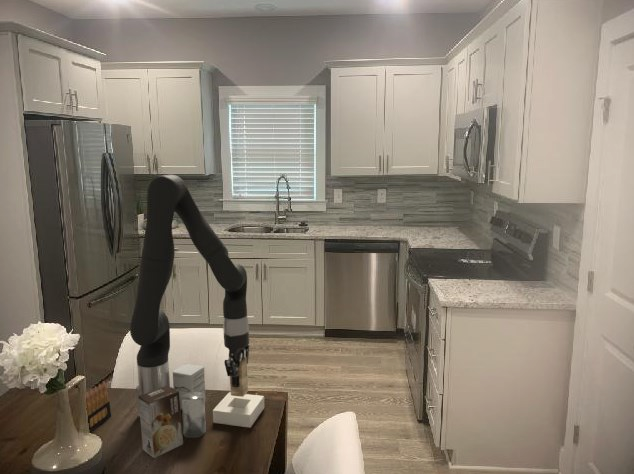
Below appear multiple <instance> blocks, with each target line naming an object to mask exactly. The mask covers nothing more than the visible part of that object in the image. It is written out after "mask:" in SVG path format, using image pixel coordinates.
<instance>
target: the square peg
mask: <svg viewBox="0 0 634 474" xmlns="http://www.w3.org/2000/svg"><path fill="white" fill-rule="evenodd" d="M234 365H238V364H234ZM235 369H236V368H235ZM248 379H249V378H248V364H247V357H245V358H242V359H241V362H240V368H239V384H240V386H239V387H233V386H232V376H229V381H230V382H229V383H230V384H229V385H230V392H231V396H240V397H243V396H244V395H245V394H248V393H247V392H249V381H248Z"/></svg>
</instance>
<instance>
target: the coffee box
mask: <svg viewBox="0 0 634 474" xmlns="http://www.w3.org/2000/svg"><path fill="white" fill-rule="evenodd" d="M138 399H139V410H140V416H139V419H140V431H141V442H142V443H141V444H142V450H143V451H144V452H145V453H147V455H149V456H150V457H152V458H154V459H155V458H158V457H160V456H162V455H164V454H166V453H168V452H170V451H171V450H175V449H176V448H178V447H181V446H182V445H183V444H184V440H183V439H184V438H183V436H184V435H183V422H182V414H181V413H182V412H181V409H180V398H179V391H177V390H175V389H174V388H173V387H172V386H170V387H169V386H167V385H166V386H164V387H161V388H159V389H156V390H153V391H151V392H148V393H146V394H143V395H140V396H138Z"/></svg>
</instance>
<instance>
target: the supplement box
mask: <svg viewBox="0 0 634 474" xmlns="http://www.w3.org/2000/svg"><path fill="white" fill-rule="evenodd" d="M205 380H206V379H205V366H202V365H196V364H191V363H184V364H182V365H181V366H179V367H178V368H176V369H175V370H174V371H172V383H173V384H172V386H173V387H172V388H174V389H175V390H177V391H179V398H180V410H182V400H181V398H182V396H183V395H185V394H187V393H191V392H200V393H203V394H204V402H205V403H206V381H205Z"/></svg>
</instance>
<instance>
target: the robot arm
mask: <svg viewBox="0 0 634 474" xmlns="http://www.w3.org/2000/svg"><path fill="white" fill-rule="evenodd" d="M146 191H147V193H146V194H147V195H146V196H147V198H146V223H145V230H144V236H143V237H144V238H143V242H142V244H143V245H142V250H141V258H140V266H139V274H138V275H139V277H138V281H137V282H138V283H137V284H138V285H137V290H136V291H137V292H136V300H135V304H134V308H133V313H132V315H131V321H130V325H129V326H130V327H129V333H130V336H131V338H132V341H133V342H134V343H135V344H137V345H138V346H140V348H139V350H138V352H137V354H136V366H137V368H136V369H137V380H138V381H137V382H138V385H137V386H136V388H135V390H136V391H135V393H136V405H137V416H138V417H140V410H139V399H138V396H140V395H143V394H146V393H148V392H151V391H153V390H156V389H159V388H161V387H164V386H166V385H167V386H169V387H171V380H170V379H171V378H170V365H169V364H170V363H169V362H170V361H169V353H170V349H171V331H170V322H169V318H168V316H167V314H166V313H165V312H164V311H163V310H162V309H160V308H161V307H160V306H161V303H162V298H163V297H164V295H165V292H166V289H167V288H168V285H169V282H170V280H171V277H172V274H173V268H174V261H175V253H176V252H175V251H176V249H175V241H174V236H173V220H174V215H175V213H176V215H177V216H178V217H179V218H180V220H181V221H182V223H183V225H184V226H185V228H186V231H187V233H188V236H189V237H190V240H191V241H192V243H193V245H194V247H195V249H196V250H197V251H198V252H199V254H200V256H201V257H202V258H203V259H204V260H205V262H206V263H207V264H208V266H209V268H210V271H211V272H212V274H213V276H214V278H215V279H216V281H217V283H218V284H219V285H220V286H221V288H223V289H224V297H223V301H222V314H223V320H222V330H223V344H224V347H225V348H227V349H228V359H224V367H225V371H226V374H227V375H226V376H227V377H230V376H232V386H233V387H239V386H240V384H239V368H240V362H241V359H242V358H245V357H247V365H248V364H249V353H250V345H249V344H250V333H249V331H250V330H249V329H250V327H249V318H248V309H247V308H248V307H247V306H248V305H247V290H248V289H247V288H248V275H247V270H246V269H245V267H244V266H243V265H241V264H240V263H235V262H233V261H232V259H231V258H230V257H229V250H228V248H227V247H226V245H225V244H224V243H223V241H222V240H221V238H220V237H219V236H218V235H217V234H216V232H215V231H214V230H213V228H212V227H211V226H210V224H209V223H208V221H207V220H206V218H205V217H204V215H203V214H202V212H201V211H200V209H199V207H198V205H197V204H196V201H195V200H194V198H193V196H192V194H191V193H190V191H189V189H188V186H187V185H186V184H185V181H184V180H183V179H182V178H181V177H180V176H178V175H175V174H164V175H158V176H156V177H154V178H153V179H152V180H151V181H150V182H149V184H148V187H147V190H146ZM234 364H238V365H234ZM235 368H236V369H235Z"/></svg>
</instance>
